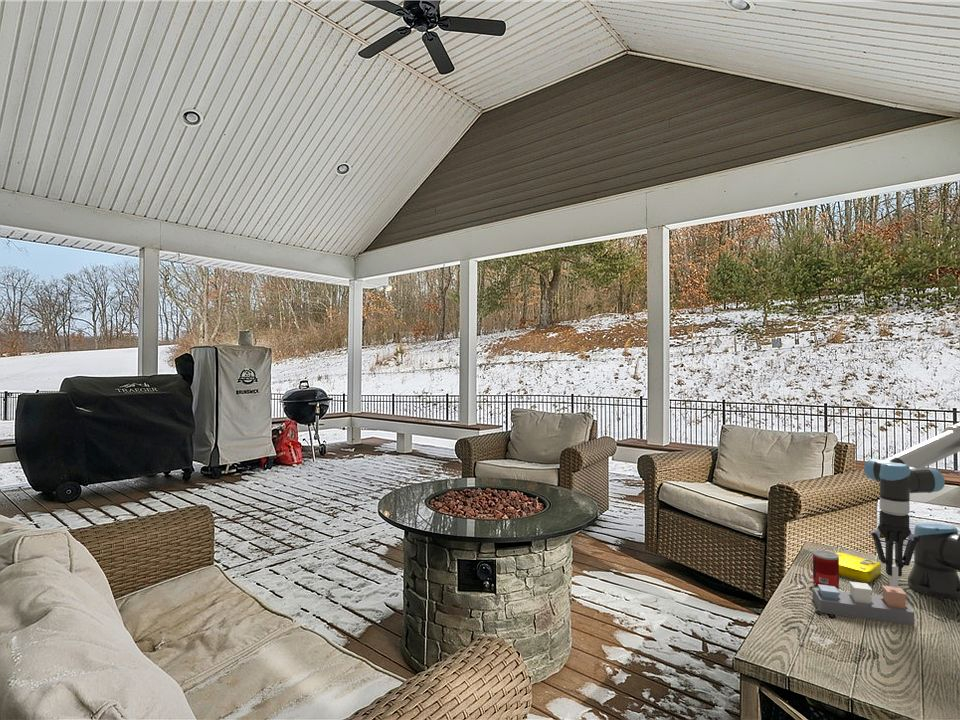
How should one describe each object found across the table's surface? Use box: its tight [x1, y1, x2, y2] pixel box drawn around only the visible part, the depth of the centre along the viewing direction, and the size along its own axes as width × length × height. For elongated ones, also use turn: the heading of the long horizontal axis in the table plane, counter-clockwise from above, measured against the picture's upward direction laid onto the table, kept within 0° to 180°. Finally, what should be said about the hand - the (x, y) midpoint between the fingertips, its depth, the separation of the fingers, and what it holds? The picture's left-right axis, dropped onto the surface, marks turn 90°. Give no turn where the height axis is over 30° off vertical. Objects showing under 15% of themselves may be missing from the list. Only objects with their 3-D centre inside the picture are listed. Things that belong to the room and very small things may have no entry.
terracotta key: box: [881, 584, 908, 609], centre depth 169 cm, size 5×5×5 cm
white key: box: [848, 580, 874, 604], centre depth 172 cm, size 5×5×5 cm
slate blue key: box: [817, 584, 840, 600], centre depth 175 cm, size 5×5×5 cm
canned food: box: [812, 550, 840, 589], centre depth 193 cm, size 8×8×11 cm
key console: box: [812, 587, 915, 626], centre depth 172 cm, size 25×10×4 cm, turn 70°
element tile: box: [834, 551, 882, 583], centre depth 204 cm, size 15×15×5 cm
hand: (893, 585), depth 169 cm, fingers closed
